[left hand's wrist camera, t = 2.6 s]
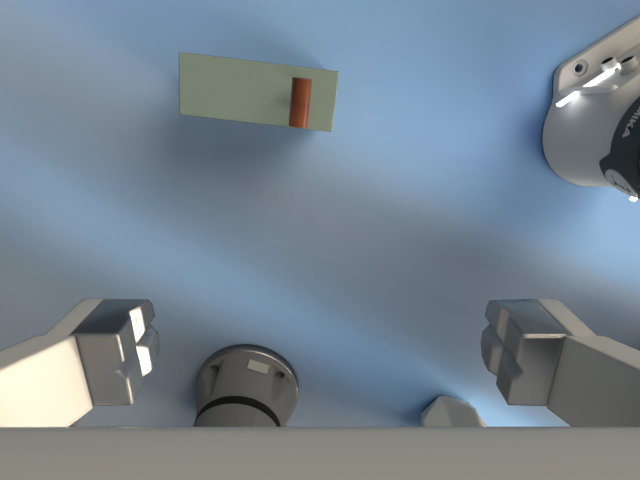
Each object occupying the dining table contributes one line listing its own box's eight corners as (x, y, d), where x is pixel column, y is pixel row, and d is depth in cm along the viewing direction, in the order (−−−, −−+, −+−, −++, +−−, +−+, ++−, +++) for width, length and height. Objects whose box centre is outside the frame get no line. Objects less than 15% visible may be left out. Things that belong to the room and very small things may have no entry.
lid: (338, 71, 39) (342, 70, 31) (331, 130, 41) (333, 143, 33) (183, 52, 38) (148, 47, 31) (183, 113, 40) (151, 122, 33)
